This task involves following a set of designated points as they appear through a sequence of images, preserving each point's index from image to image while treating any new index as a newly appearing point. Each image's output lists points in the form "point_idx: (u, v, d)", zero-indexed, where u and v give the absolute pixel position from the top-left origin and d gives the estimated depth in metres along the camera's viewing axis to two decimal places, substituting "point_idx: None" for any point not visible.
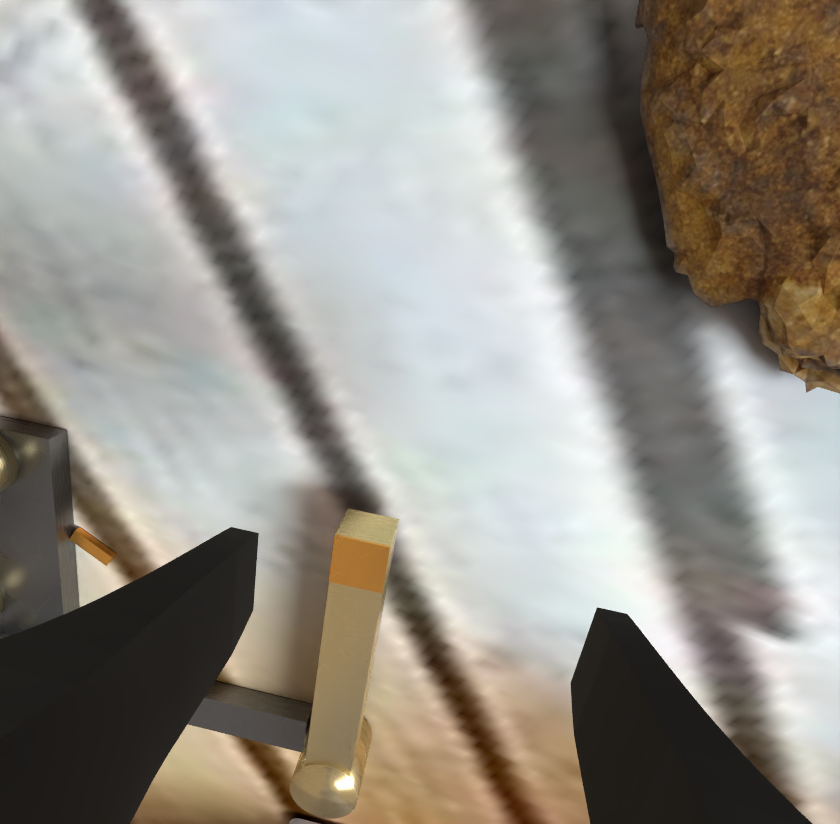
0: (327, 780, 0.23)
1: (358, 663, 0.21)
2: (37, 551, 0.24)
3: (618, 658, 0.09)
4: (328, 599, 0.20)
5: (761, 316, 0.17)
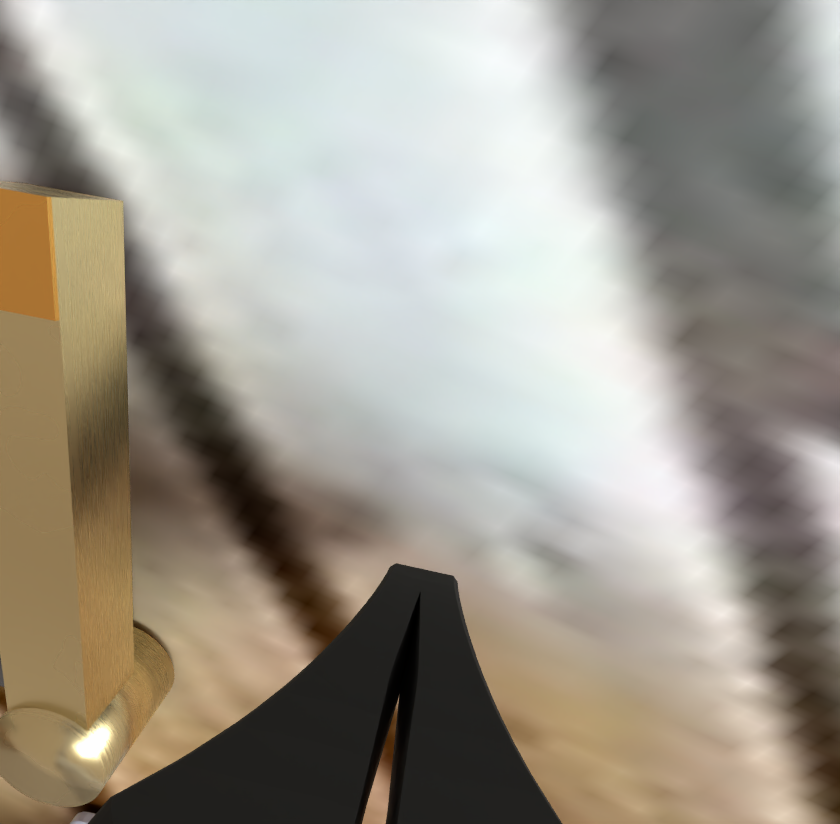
0: (45, 737, 0.13)
1: (49, 494, 0.11)
2: None
3: (418, 613, 0.09)
4: None
5: None
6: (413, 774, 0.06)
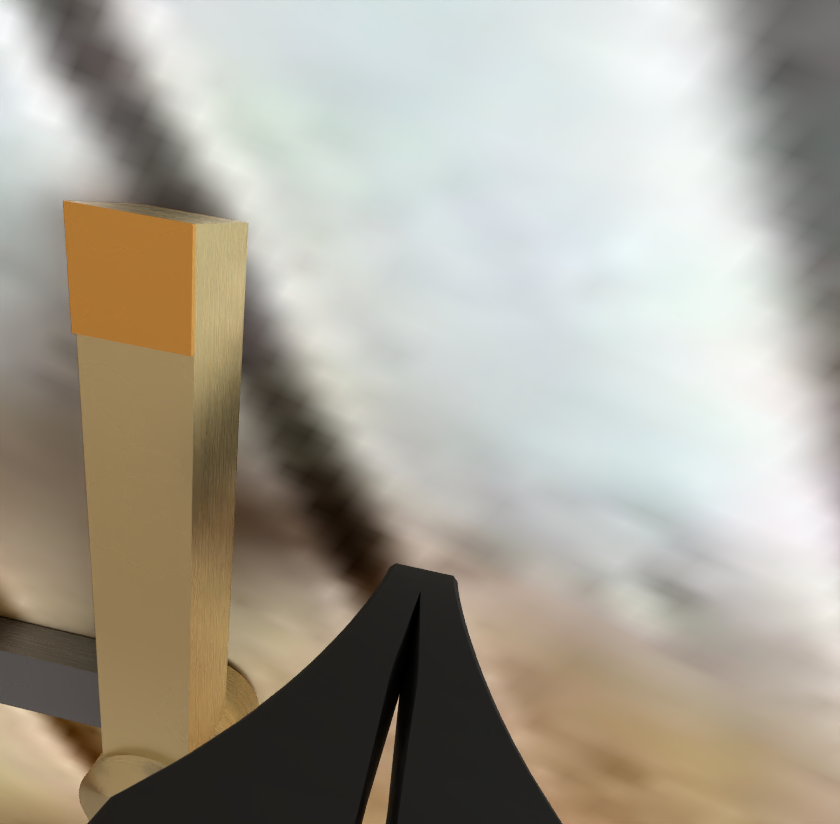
0: None
1: (168, 537, 0.10)
2: None
3: (418, 613, 0.09)
4: (82, 383, 0.09)
5: None
6: (413, 774, 0.06)
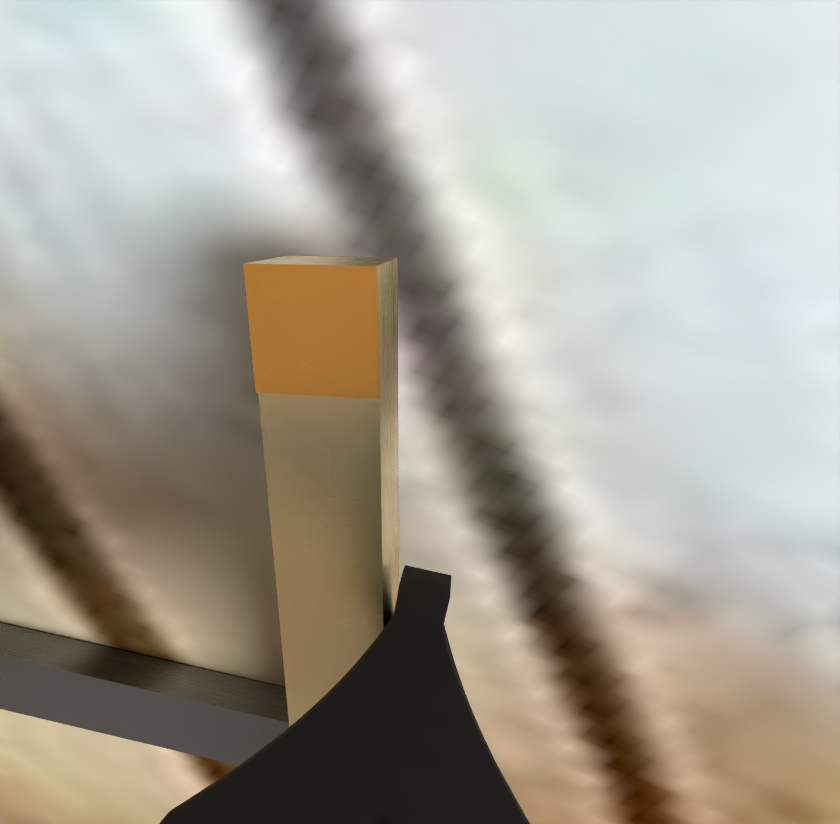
0: None
1: (357, 583, 0.10)
2: None
3: (396, 608, 0.10)
4: (266, 441, 0.09)
5: None
6: (377, 765, 0.06)
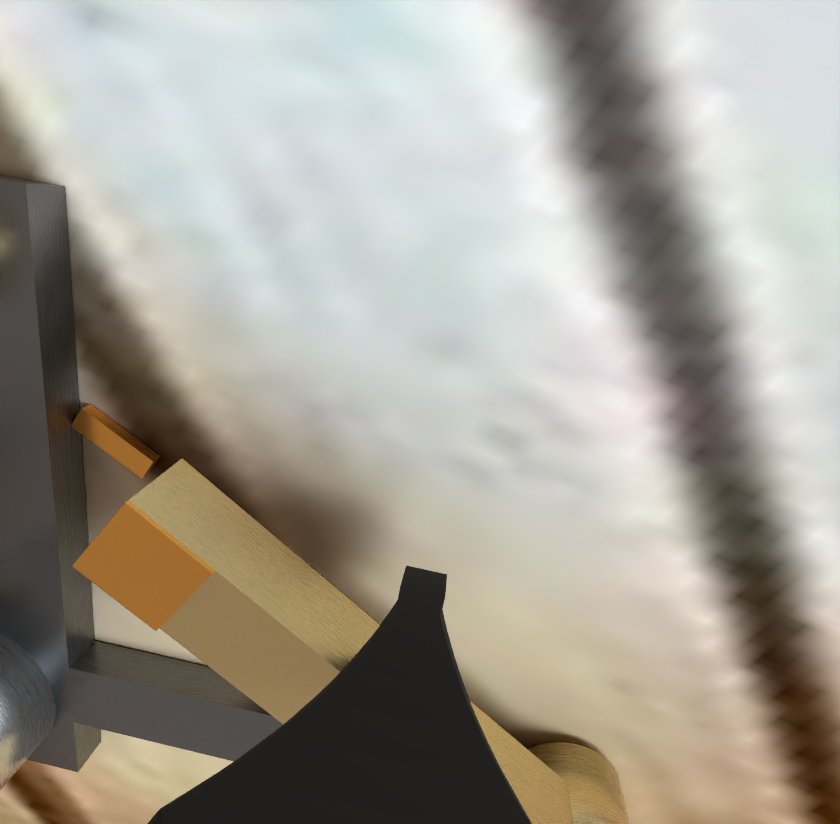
0: None
1: None
2: (8, 446, 0.12)
3: (397, 608, 0.10)
4: (195, 652, 0.11)
5: None
6: (379, 766, 0.06)
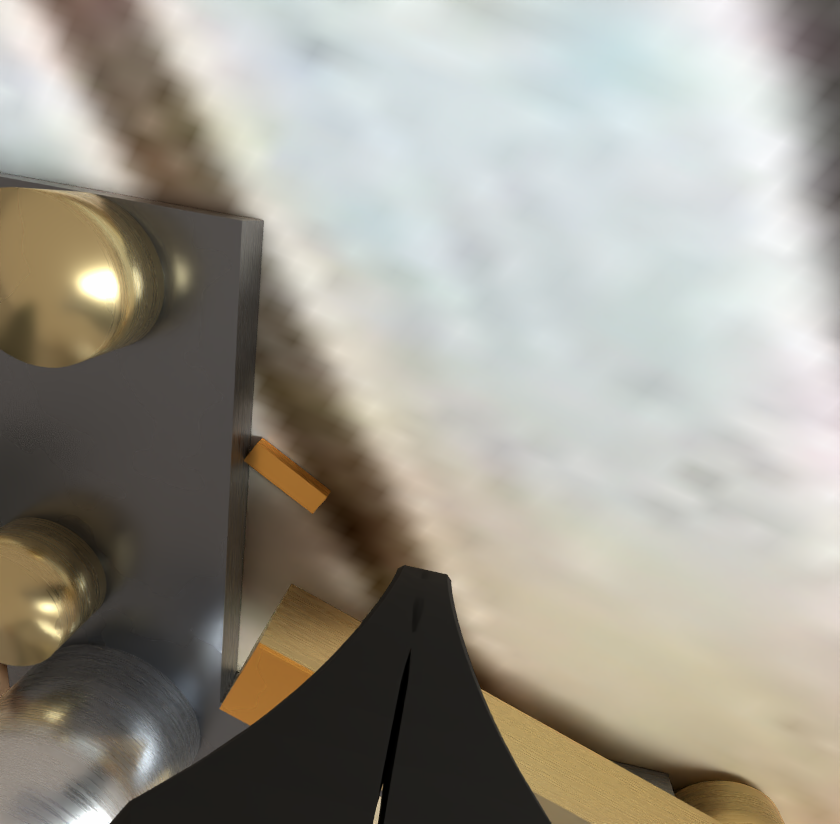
0: None
1: None
2: (186, 482, 0.12)
3: (411, 611, 0.10)
4: None
5: None
6: (402, 771, 0.06)
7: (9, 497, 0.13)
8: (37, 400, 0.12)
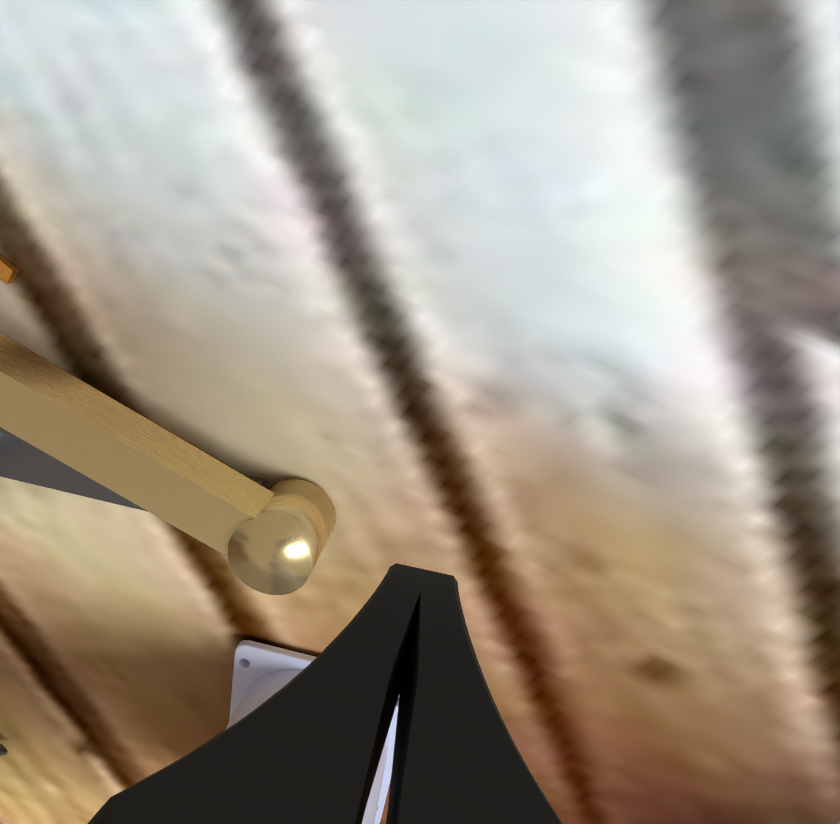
0: (247, 543, 0.19)
1: (84, 432, 0.18)
2: None
3: (418, 613, 0.09)
4: (1, 425, 0.18)
5: None
6: (413, 774, 0.06)
7: None
8: None
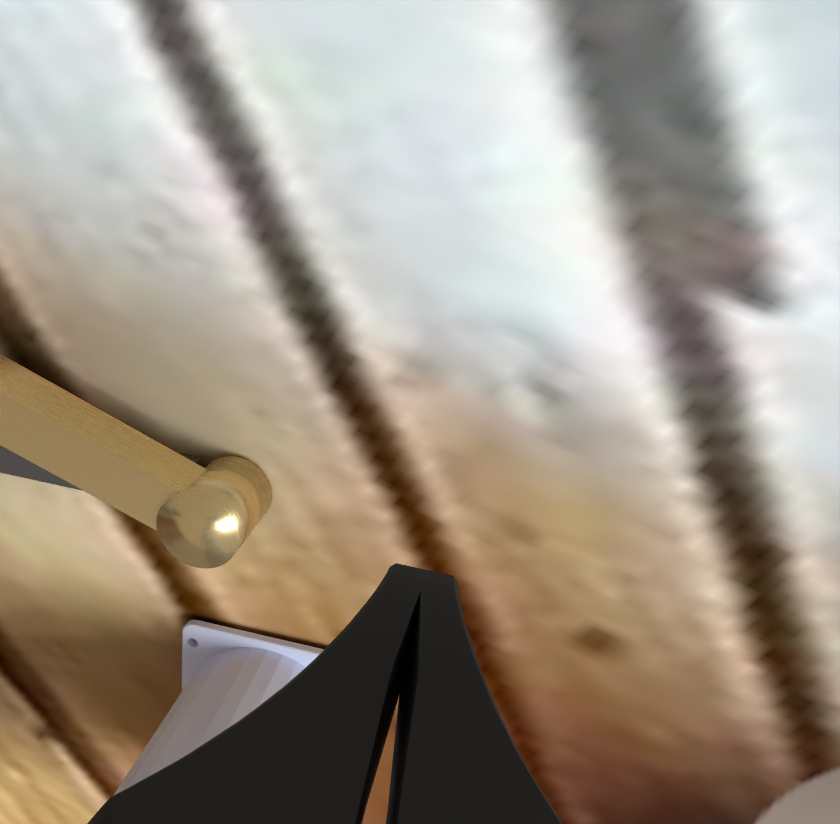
0: (175, 517, 0.19)
1: (11, 410, 0.18)
2: None
3: (418, 613, 0.09)
4: None
5: None
6: (413, 774, 0.06)
7: None
8: None
